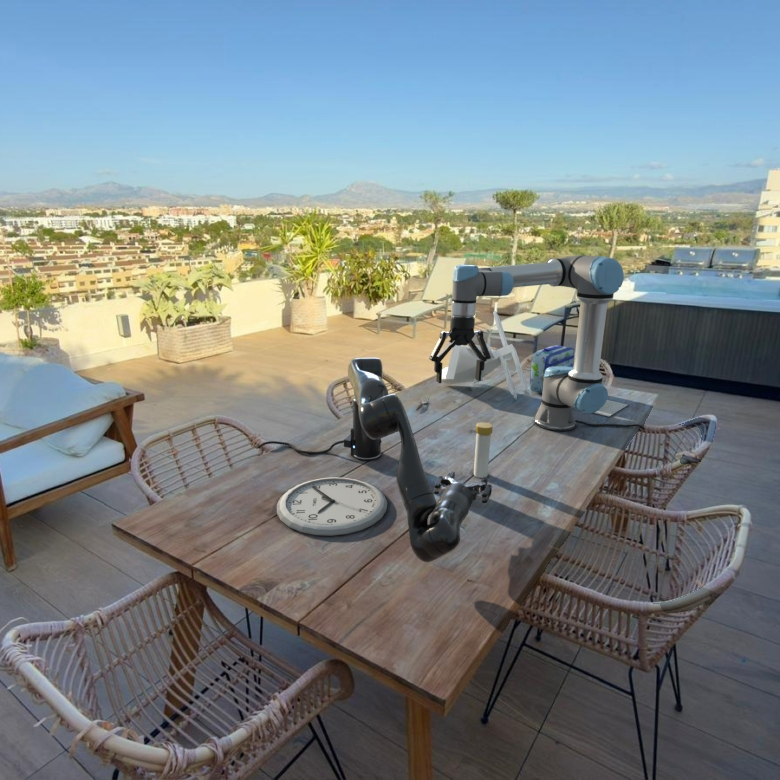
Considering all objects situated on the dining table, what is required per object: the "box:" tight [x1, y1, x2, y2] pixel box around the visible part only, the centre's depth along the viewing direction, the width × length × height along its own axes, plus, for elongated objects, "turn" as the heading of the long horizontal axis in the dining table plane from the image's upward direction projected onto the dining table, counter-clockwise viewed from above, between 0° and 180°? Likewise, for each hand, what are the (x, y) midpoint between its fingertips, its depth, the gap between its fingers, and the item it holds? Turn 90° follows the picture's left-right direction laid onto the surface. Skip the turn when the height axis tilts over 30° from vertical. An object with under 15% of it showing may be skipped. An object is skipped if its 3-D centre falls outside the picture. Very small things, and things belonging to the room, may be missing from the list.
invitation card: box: [594, 399, 629, 418], centre depth 226 cm, size 21×1×15 cm
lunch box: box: [529, 345, 575, 394], centre depth 245 cm, size 26×11×21 cm, turn 134°
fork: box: [415, 395, 430, 411], centre depth 223 cm, size 3×16×2 cm, turn 160°
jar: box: [473, 433, 492, 479], centre depth 160 cm, size 4×4×16 cm
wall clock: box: [276, 476, 388, 537], centre depth 142 cm, size 30×2×30 cm
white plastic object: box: [441, 310, 531, 400], centre depth 245 cm, size 37×45×31 cm
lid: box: [475, 421, 493, 435], centre depth 157 cm, size 5×5×2 cm
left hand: (468, 477), depth 142 cm, fingers open, 8 cm apart
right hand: (458, 381), depth 169 cm, fingers open, 13 cm apart
